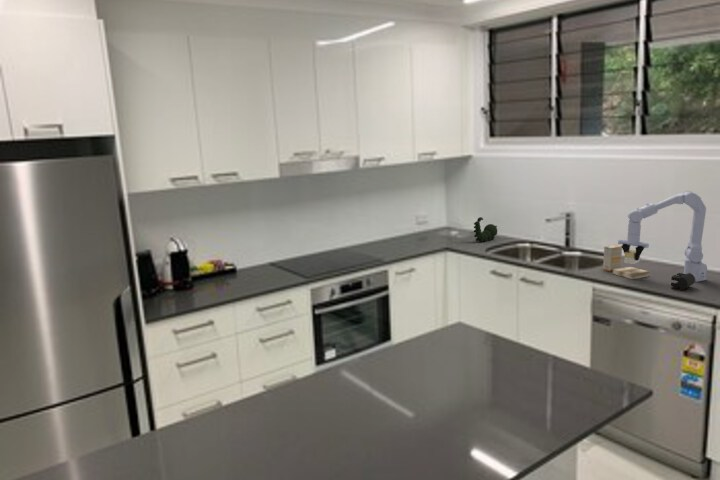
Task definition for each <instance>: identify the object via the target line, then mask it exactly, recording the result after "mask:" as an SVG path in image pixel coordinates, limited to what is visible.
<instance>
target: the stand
mask: <svg viewBox="0 0 720 480" xmlns="http://www.w3.org/2000/svg"><path fill="white" fill-rule="evenodd" d="M612 274H613V275H616V276H619V277H623V278H626V279H631V280H636V279H641V278H647V277H649V276H650V271H649V270H646V269H641V268H637V267H633V266H624V267H621V268H618V269H613V271H612Z"/></svg>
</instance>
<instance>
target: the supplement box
mask: <svg viewBox="0 0 720 480" xmlns="http://www.w3.org/2000/svg"><path fill="white" fill-rule="evenodd" d="M622 253H623V249H622V245H620V244H612V245H604V247H603V265H602V267H603V268H602V270H604V271H608V272H611V271H612V272H613V269H618V268H622V256H623V255H622Z"/></svg>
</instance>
